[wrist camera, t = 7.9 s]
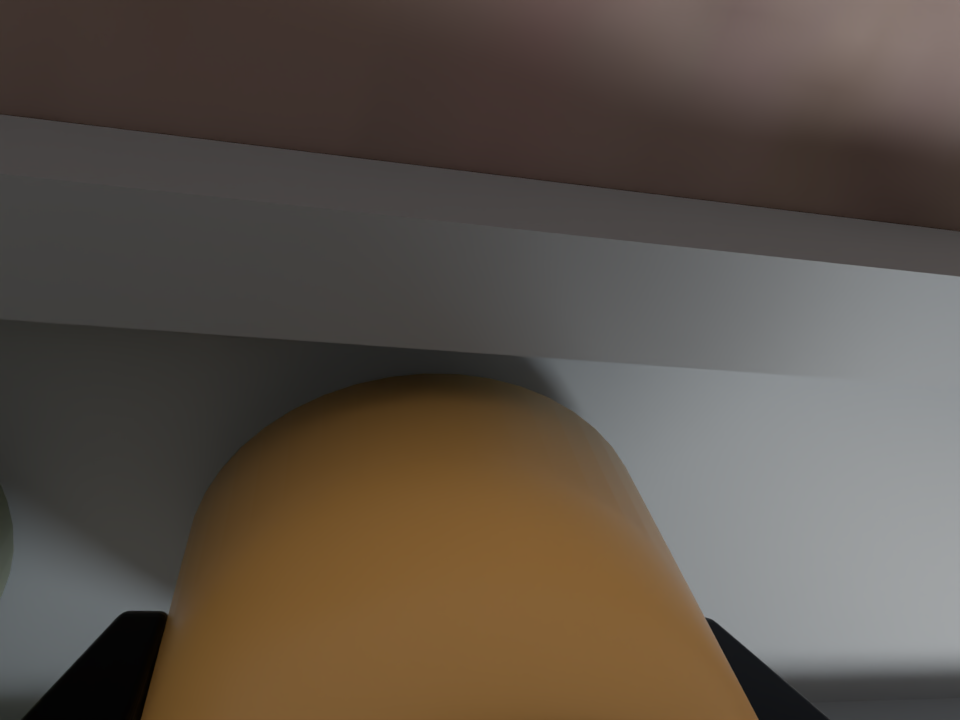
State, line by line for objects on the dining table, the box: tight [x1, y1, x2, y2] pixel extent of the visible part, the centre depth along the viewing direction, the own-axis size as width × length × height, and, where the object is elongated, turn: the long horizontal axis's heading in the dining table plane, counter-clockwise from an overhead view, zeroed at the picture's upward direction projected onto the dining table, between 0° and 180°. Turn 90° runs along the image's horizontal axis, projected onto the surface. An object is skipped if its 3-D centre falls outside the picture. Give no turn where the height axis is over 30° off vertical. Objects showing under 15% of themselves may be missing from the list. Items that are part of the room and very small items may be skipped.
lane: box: [0, 114, 960, 720], centre depth 8 cm, size 25×9×5 cm, turn 81°
